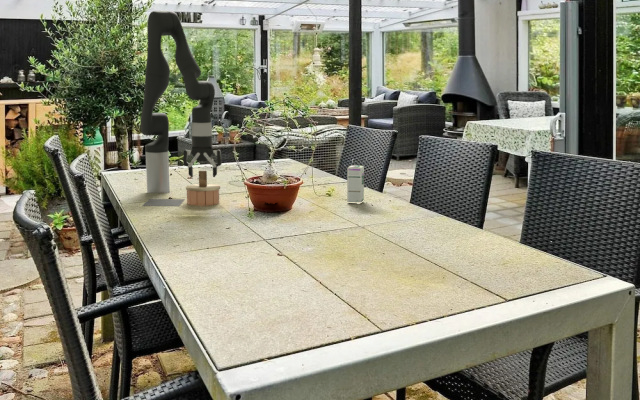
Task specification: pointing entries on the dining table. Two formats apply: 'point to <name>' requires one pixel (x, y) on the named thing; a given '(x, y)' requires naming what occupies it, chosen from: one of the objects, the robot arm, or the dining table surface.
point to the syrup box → (355, 183)
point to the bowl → (202, 197)
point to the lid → (202, 183)
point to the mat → (164, 202)
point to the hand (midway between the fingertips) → (202, 176)
